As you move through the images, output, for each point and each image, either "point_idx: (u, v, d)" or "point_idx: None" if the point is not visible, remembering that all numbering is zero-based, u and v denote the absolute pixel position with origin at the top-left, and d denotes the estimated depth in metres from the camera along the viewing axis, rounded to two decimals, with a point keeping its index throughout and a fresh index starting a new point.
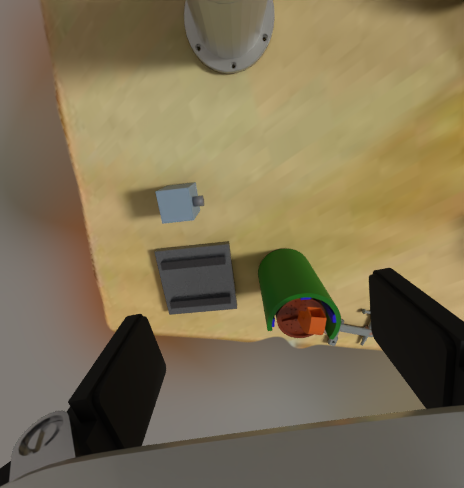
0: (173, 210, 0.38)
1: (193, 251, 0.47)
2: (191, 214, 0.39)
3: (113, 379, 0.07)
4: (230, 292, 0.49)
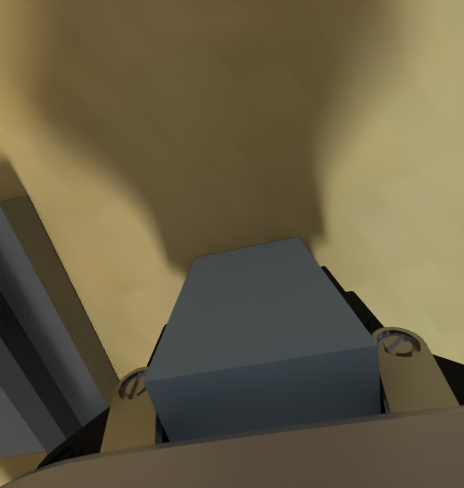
0: None
1: (61, 349, 0.12)
2: None
3: None
4: None
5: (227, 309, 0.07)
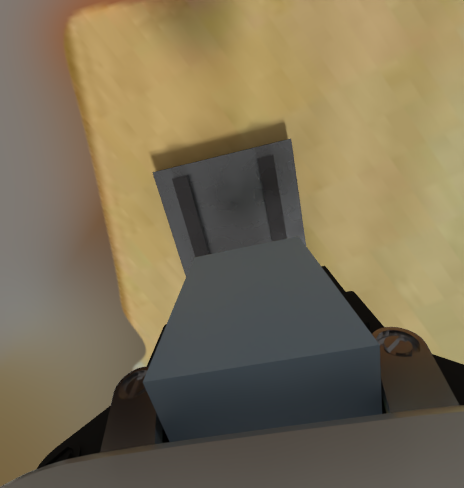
0: None
1: (294, 212, 0.26)
2: None
3: None
4: None
5: (227, 308, 0.07)
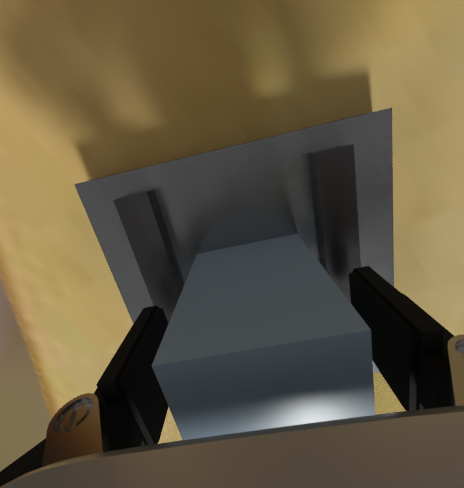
0: (245, 416, 0.06)
1: (378, 269, 0.13)
2: None
3: (136, 364, 0.08)
4: None
5: (229, 300, 0.08)
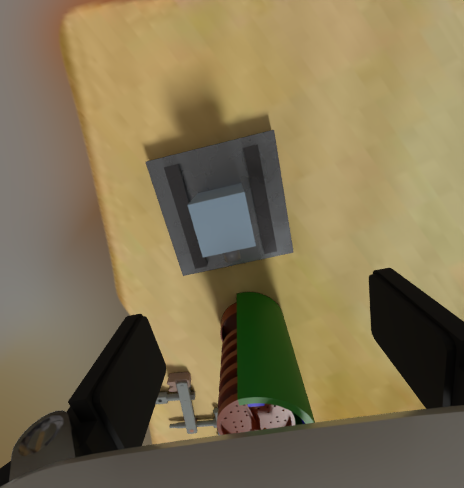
0: (214, 223, 0.22)
1: (278, 199, 0.28)
2: (211, 253, 0.23)
3: (113, 379, 0.07)
4: (211, 262, 0.31)
5: (209, 196, 0.23)
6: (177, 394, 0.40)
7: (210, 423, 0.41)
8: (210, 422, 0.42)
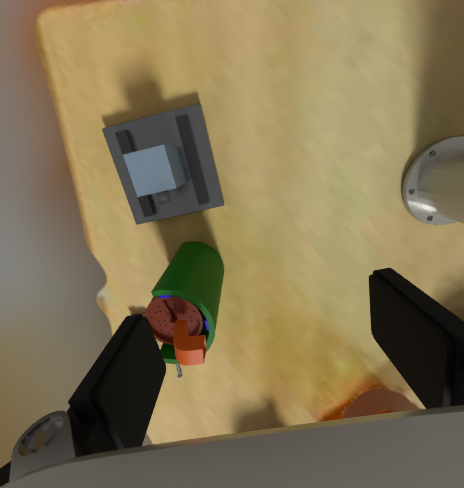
0: (143, 169, 0.29)
1: (207, 160, 0.36)
2: (143, 193, 0.30)
3: (113, 378, 0.07)
4: (158, 213, 0.38)
5: None
6: None
7: None
8: None
